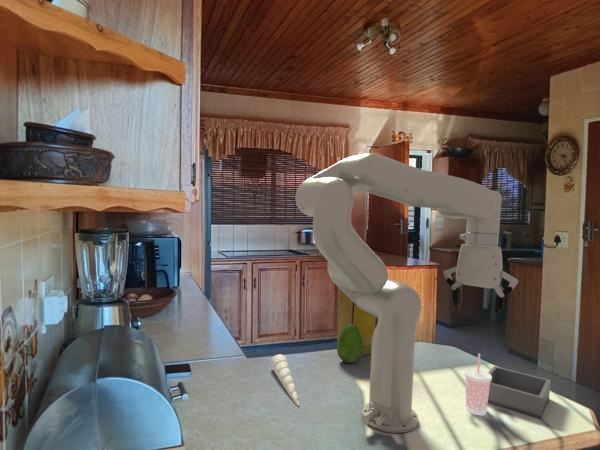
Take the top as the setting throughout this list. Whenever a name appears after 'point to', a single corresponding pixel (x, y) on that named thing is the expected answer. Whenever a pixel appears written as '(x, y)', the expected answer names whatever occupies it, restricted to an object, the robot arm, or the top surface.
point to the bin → (518, 391)
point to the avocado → (349, 344)
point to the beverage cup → (477, 390)
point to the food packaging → (356, 321)
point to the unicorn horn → (284, 376)
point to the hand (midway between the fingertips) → (476, 308)
